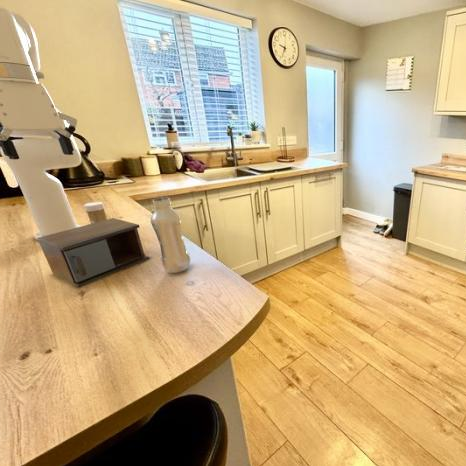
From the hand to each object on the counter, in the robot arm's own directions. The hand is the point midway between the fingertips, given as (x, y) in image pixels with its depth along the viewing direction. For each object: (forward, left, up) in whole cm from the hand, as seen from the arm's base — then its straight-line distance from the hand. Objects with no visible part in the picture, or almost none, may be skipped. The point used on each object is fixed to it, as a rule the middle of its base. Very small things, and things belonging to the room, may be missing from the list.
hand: (43, 156), depth 68 cm
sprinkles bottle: (-13, +12, -30) cm, 35 cm away
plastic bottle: (+24, +11, -30) cm, 40 cm away
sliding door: (+11, -2, -29) cm, 31 cm away
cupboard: (+3, +3, -30) cm, 30 cm away
